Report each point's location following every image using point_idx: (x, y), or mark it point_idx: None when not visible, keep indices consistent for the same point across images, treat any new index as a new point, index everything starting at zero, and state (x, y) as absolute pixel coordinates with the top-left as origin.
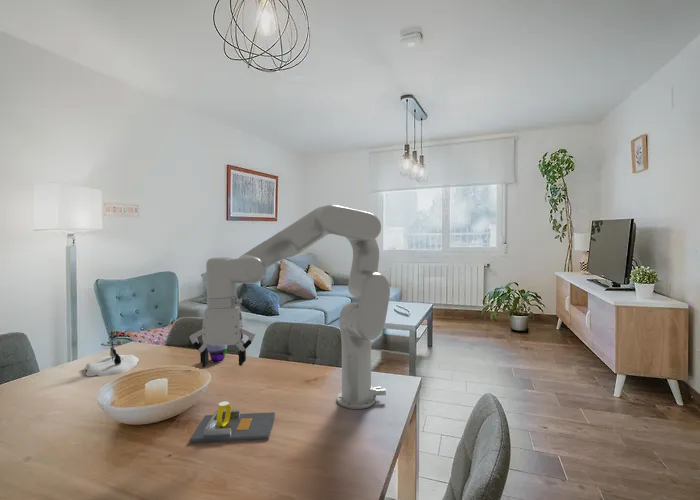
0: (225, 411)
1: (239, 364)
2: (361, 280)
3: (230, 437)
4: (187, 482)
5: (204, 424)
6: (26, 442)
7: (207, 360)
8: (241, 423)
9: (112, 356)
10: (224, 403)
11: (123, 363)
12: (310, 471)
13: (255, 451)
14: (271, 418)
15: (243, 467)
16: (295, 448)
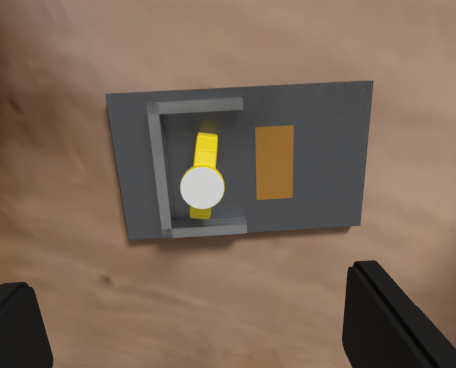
0: (188, 110)
1: (350, 351)
2: None
3: (247, 232)
4: (199, 359)
5: (134, 162)
6: None
7: (17, 335)
8: (263, 161)
9: None
10: (205, 188)
11: None
12: (451, 330)
13: (324, 268)
14: (362, 128)
15: (305, 320)
16: (425, 257)
